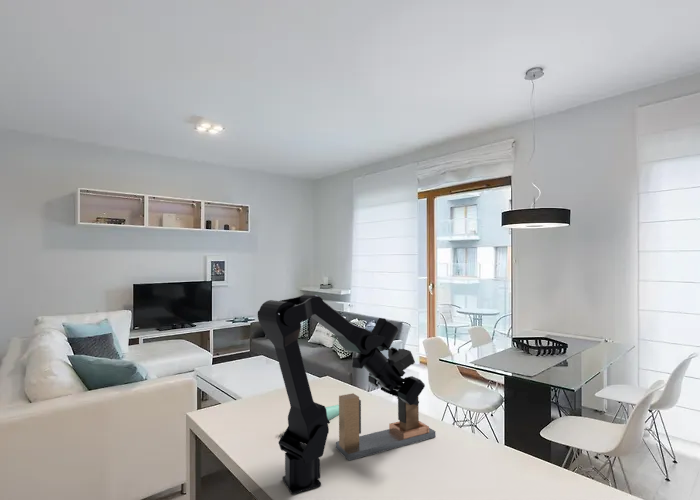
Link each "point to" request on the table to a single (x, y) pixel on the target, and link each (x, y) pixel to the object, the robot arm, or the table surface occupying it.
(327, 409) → the mint green cone
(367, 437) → the rail
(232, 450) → the table surface
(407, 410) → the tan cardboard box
